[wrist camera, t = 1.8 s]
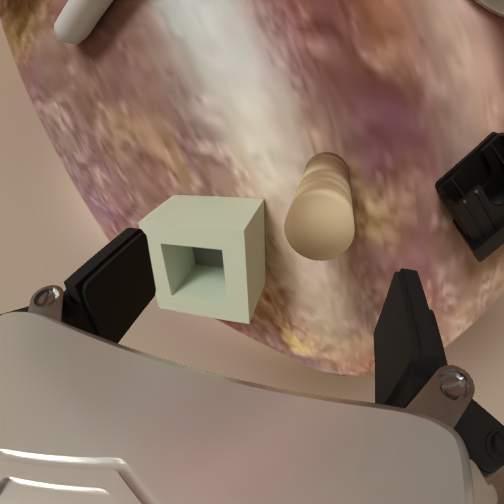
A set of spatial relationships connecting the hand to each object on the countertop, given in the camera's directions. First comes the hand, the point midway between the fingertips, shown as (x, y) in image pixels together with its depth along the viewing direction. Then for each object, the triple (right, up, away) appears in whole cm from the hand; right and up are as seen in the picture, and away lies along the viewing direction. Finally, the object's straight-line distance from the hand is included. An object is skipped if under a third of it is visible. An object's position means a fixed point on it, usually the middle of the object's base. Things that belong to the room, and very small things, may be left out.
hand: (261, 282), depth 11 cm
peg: (+6, +8, +16) cm, 19 cm away
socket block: (-4, +2, +23) cm, 23 cm away
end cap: (+22, +8, +12) cm, 26 cm away
